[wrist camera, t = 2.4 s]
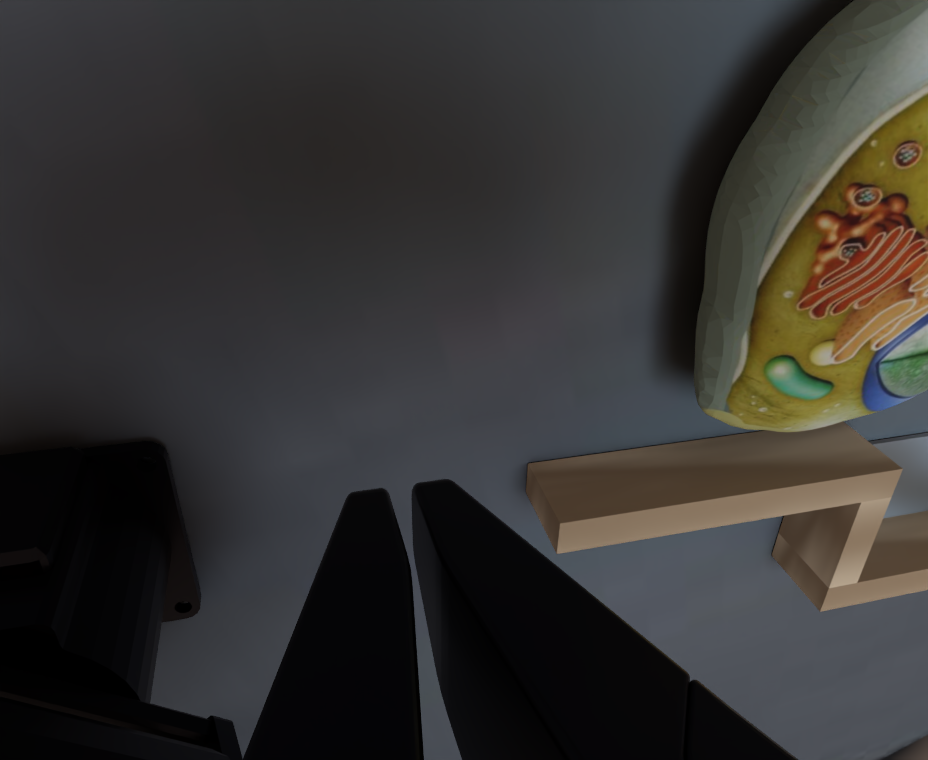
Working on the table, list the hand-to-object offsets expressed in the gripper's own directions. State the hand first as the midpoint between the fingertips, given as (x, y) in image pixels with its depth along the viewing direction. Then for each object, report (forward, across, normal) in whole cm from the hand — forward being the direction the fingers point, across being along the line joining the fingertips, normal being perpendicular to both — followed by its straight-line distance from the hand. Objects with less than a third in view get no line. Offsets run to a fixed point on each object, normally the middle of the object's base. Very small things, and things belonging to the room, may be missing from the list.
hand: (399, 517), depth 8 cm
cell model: (+12, -16, 0) cm, 20 cm away
